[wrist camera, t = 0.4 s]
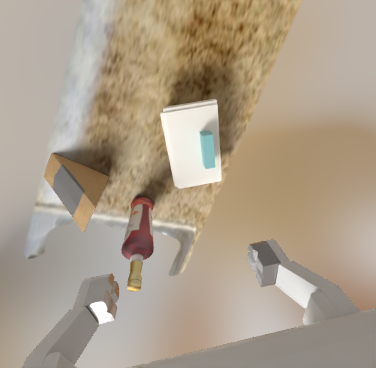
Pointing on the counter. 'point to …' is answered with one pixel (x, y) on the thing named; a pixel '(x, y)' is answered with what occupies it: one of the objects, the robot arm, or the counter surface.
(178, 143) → the lid
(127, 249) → the liquor
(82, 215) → the sandwich container
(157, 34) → the counter surface
